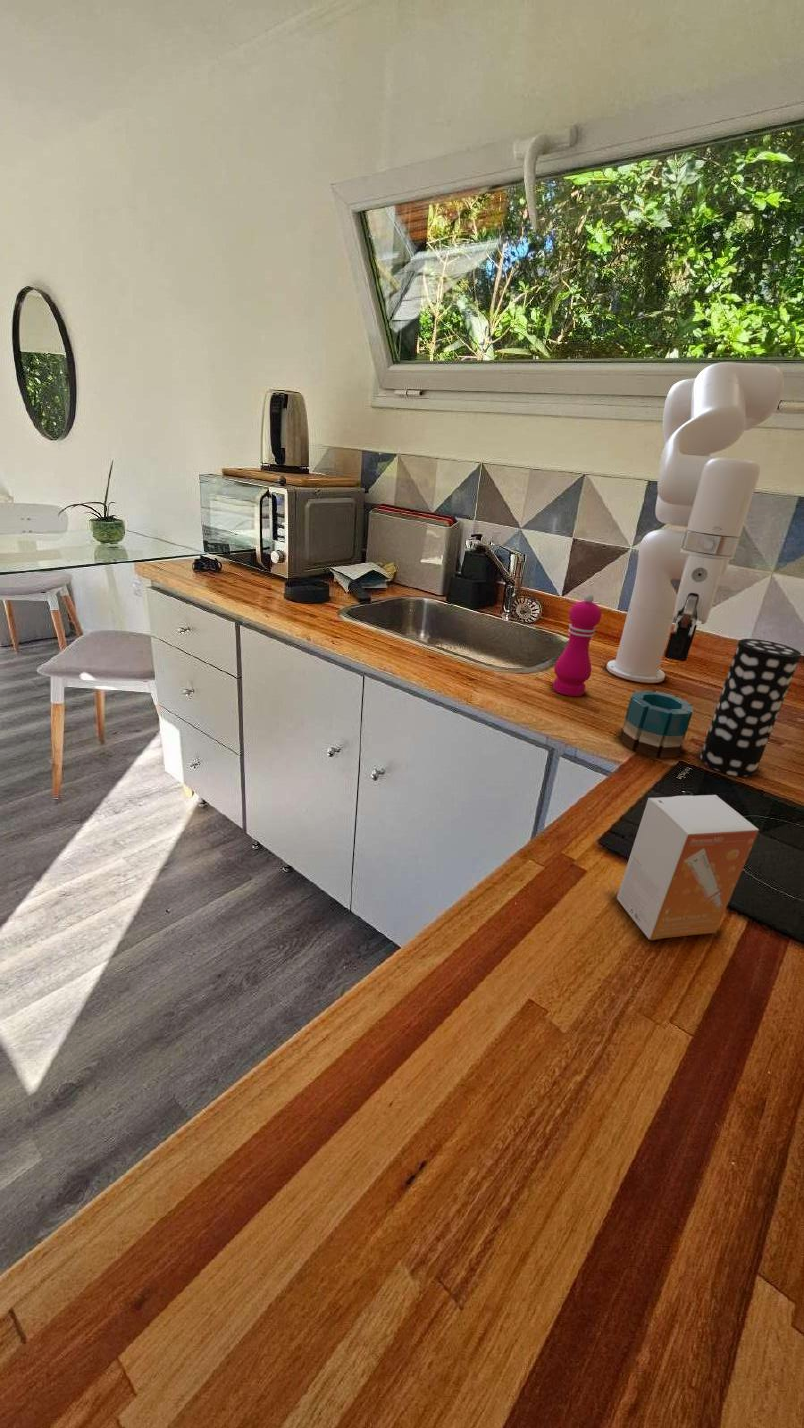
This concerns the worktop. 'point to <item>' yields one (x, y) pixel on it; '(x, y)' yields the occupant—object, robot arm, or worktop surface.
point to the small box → (685, 865)
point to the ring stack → (650, 742)
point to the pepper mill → (577, 649)
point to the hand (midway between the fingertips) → (677, 652)
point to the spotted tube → (749, 706)
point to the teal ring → (659, 713)
